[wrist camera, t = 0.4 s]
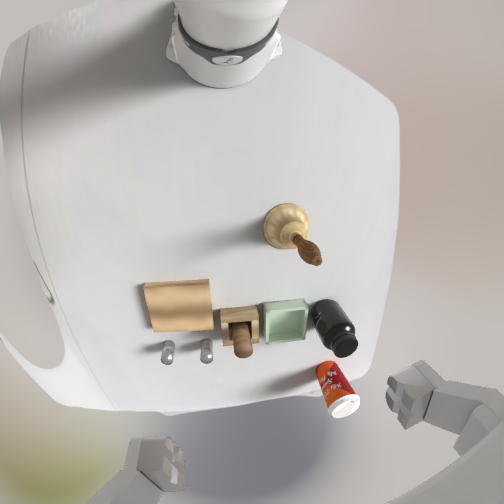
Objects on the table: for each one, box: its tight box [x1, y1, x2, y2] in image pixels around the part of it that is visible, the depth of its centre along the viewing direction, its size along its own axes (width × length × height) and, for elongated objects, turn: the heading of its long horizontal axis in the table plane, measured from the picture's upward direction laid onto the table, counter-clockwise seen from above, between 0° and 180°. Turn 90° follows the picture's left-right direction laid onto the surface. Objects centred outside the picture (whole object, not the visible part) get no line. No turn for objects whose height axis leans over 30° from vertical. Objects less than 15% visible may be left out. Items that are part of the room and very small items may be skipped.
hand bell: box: [263, 203, 322, 266], centre depth 40 cm, size 8×8×16 cm
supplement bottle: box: [310, 300, 358, 358], centre depth 50 cm, size 7×7×12 cm
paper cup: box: [316, 361, 360, 418], centre depth 56 cm, size 8×8×14 cm
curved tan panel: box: [143, 279, 214, 332], centre depth 49 cm, size 10×12×2 cm
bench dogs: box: [161, 339, 213, 365], centre depth 51 cm, size 2×10×5 cm, turn 91°
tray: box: [263, 299, 309, 344], centre depth 53 cm, size 8×8×3 cm
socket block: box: [220, 306, 259, 346], centre depth 52 cm, size 7×7×3 cm
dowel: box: [231, 321, 253, 358], centre depth 49 cm, size 3×3×9 cm
